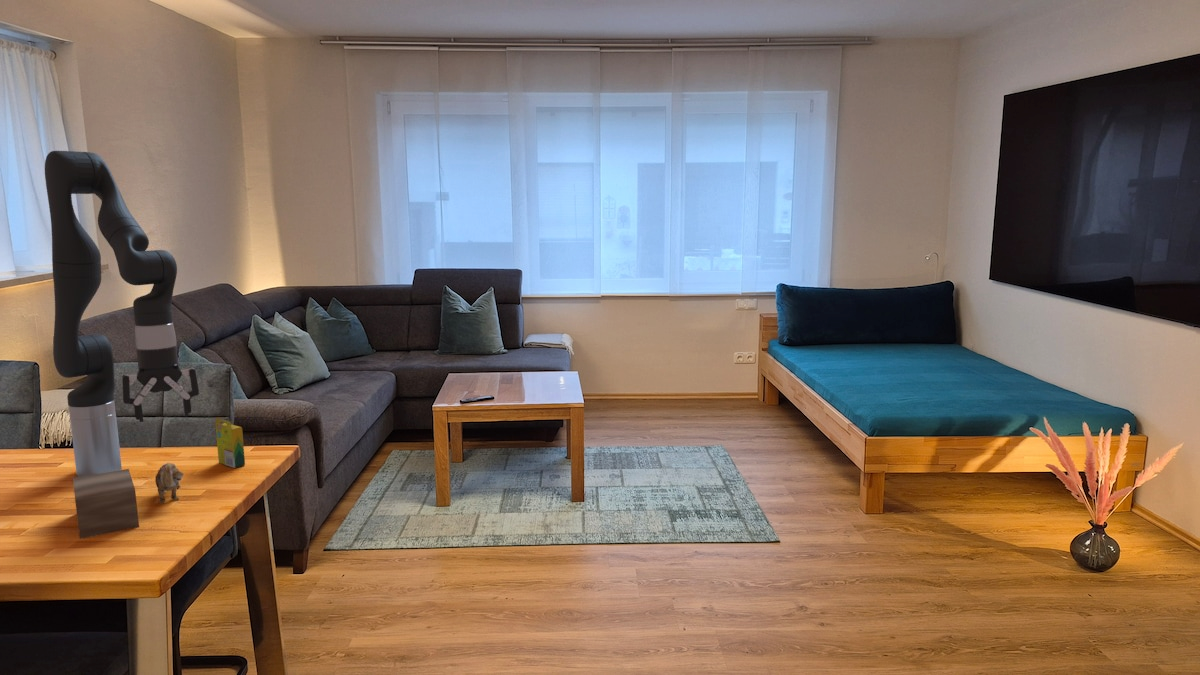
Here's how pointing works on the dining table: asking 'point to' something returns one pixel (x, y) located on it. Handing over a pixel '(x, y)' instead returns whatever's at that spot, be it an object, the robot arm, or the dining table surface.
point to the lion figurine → (168, 480)
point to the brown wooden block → (105, 503)
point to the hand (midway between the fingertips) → (164, 418)
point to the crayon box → (229, 444)
